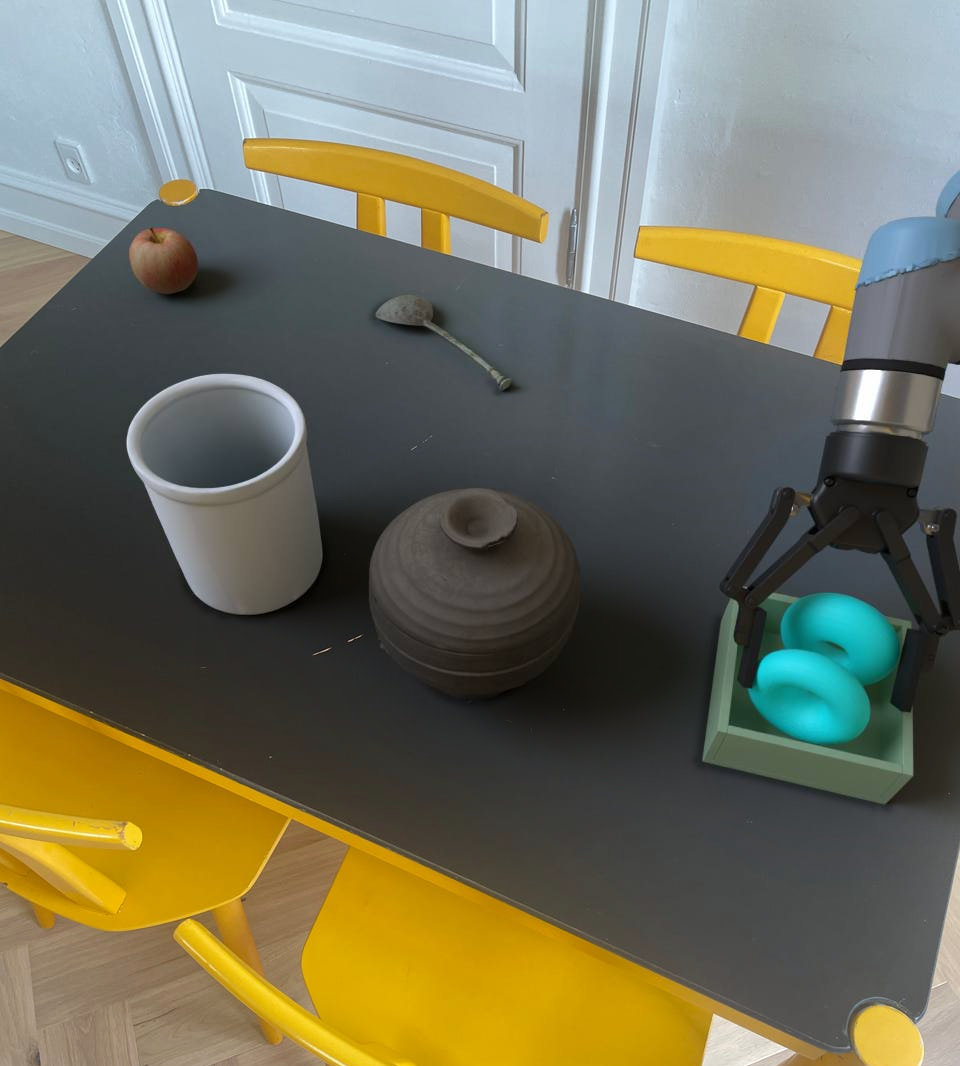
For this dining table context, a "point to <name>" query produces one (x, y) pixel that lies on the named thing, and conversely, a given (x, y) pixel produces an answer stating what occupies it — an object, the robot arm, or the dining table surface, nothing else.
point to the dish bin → (758, 747)
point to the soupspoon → (428, 325)
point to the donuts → (825, 668)
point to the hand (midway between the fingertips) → (821, 696)
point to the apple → (163, 260)
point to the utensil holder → (231, 489)
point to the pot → (474, 591)
